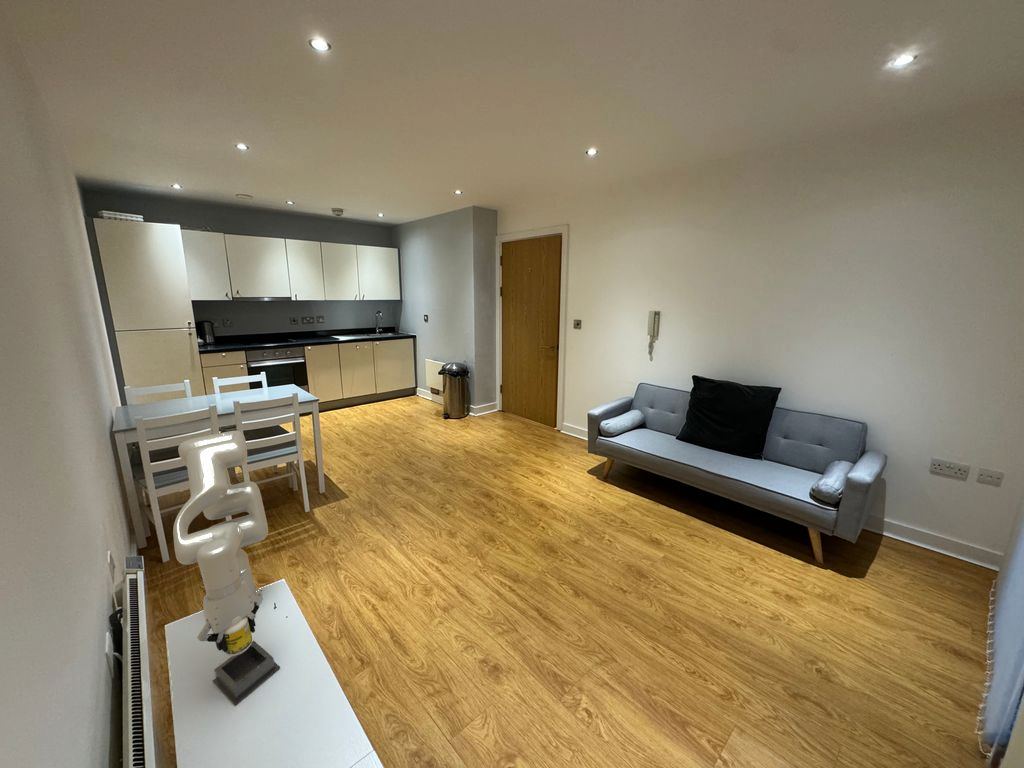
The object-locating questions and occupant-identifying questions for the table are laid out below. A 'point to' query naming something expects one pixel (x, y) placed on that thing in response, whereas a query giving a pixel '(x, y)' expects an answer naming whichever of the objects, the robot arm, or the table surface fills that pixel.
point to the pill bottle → (238, 636)
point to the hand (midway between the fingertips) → (237, 639)
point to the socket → (244, 673)
